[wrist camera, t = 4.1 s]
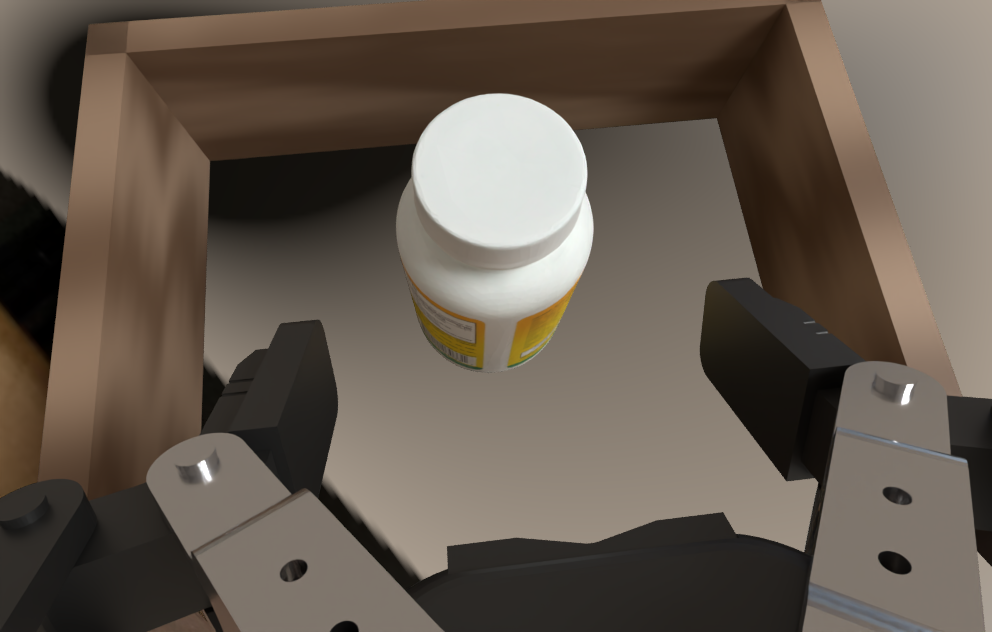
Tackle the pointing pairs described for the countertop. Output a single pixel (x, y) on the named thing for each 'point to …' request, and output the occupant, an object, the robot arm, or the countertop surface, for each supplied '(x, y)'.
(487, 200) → the supplement bottle
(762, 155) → the wooden frame
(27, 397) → the countertop surface
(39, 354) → the countertop surface
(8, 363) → the countertop surface
